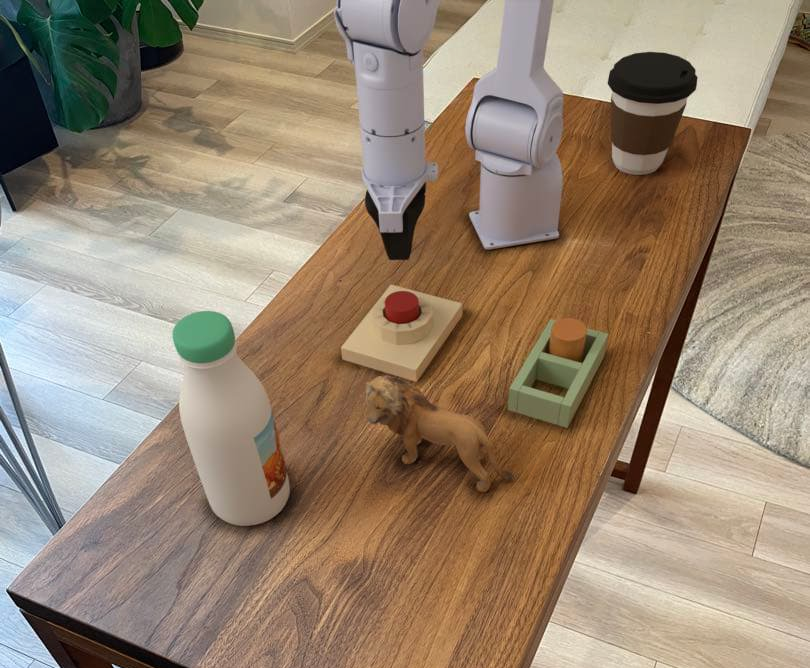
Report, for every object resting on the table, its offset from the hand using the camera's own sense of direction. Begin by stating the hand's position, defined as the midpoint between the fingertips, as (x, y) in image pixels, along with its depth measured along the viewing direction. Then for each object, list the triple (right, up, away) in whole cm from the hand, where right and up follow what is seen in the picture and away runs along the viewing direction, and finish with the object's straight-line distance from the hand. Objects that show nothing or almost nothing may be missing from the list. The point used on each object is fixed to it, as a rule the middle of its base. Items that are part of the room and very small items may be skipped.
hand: (399, 256), depth 84 cm
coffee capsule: (+17, -10, +4) cm, 21 cm away
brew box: (0, -6, +8) cm, 10 cm away
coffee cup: (+32, +22, +28) cm, 48 cm away
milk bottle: (-14, -25, -5) cm, 29 cm away
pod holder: (+17, -12, +3) cm, 21 cm away
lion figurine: (+3, -21, -3) cm, 22 cm away
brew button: (0, -4, +6) cm, 7 cm away
